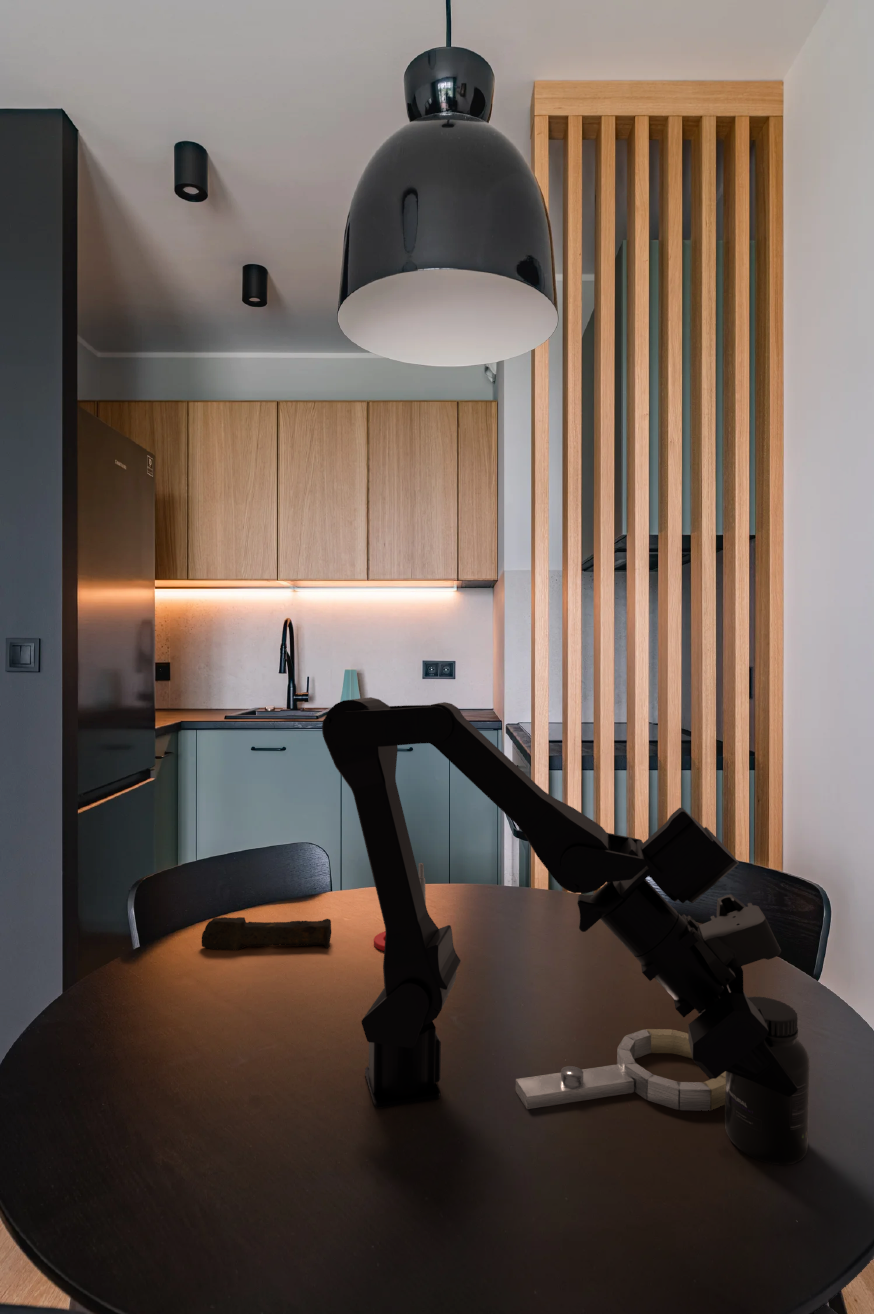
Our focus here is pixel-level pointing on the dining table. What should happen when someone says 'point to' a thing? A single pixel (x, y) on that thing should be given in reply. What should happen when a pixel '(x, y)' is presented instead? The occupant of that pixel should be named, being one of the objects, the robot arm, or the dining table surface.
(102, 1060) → the dining table surface
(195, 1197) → the dining table surface
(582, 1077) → the segmented ring handle
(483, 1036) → the dining table surface
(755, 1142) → the supplement bottle
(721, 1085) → the ring with knobbed tab
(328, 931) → the hand tool
